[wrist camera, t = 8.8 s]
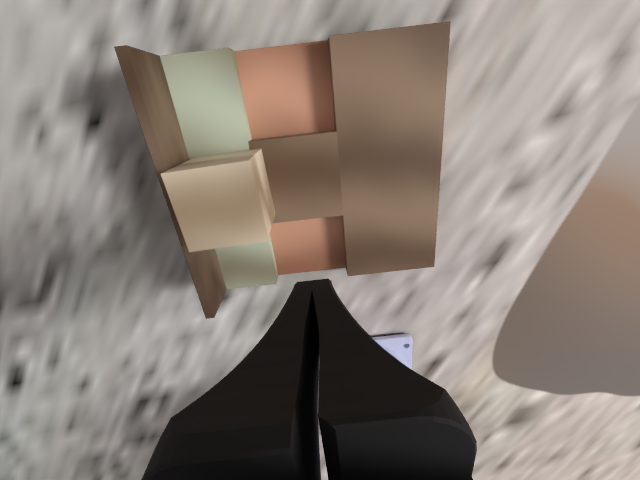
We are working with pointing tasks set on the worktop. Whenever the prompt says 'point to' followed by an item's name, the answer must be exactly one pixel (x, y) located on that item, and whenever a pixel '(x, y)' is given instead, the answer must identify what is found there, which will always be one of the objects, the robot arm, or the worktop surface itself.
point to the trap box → (309, 147)
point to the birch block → (221, 199)
